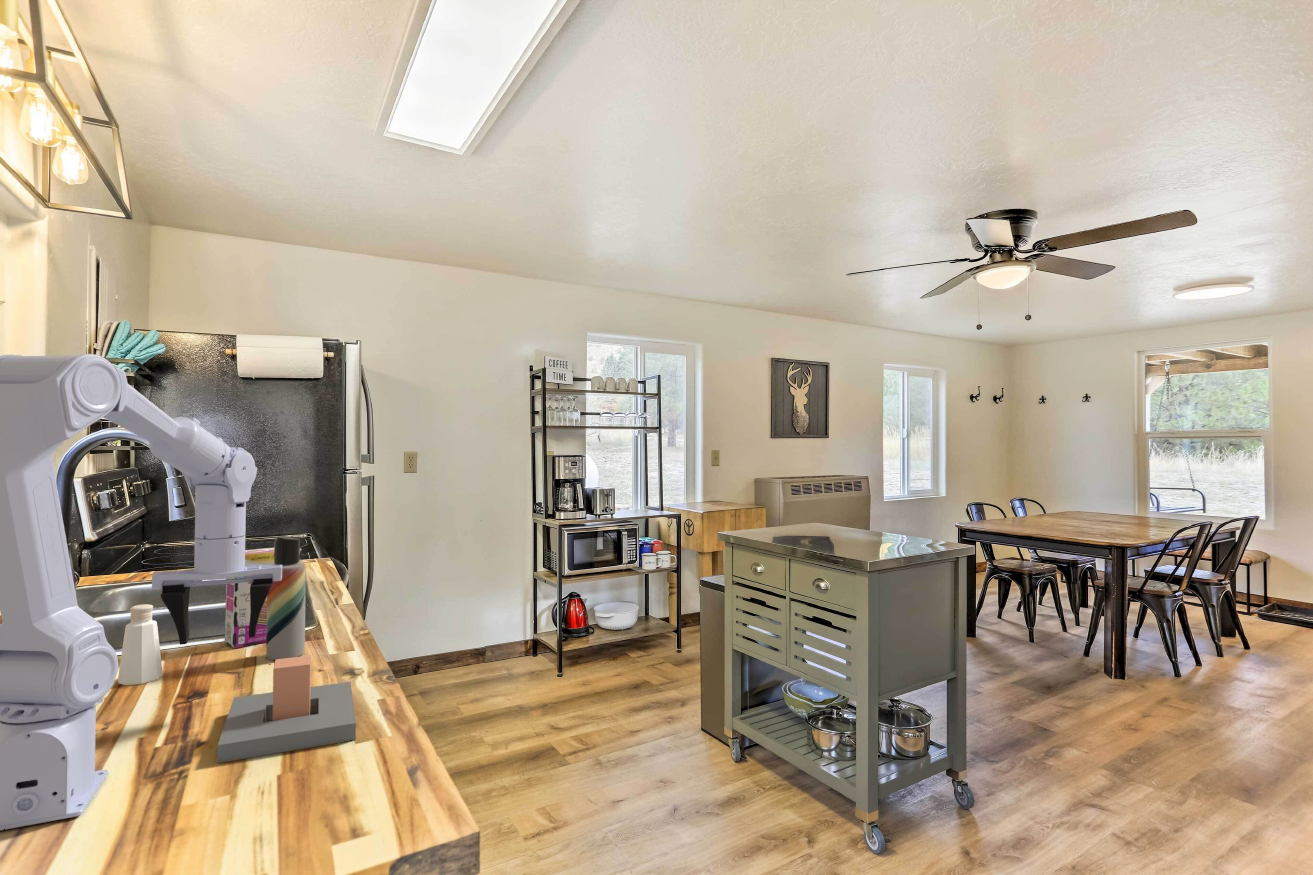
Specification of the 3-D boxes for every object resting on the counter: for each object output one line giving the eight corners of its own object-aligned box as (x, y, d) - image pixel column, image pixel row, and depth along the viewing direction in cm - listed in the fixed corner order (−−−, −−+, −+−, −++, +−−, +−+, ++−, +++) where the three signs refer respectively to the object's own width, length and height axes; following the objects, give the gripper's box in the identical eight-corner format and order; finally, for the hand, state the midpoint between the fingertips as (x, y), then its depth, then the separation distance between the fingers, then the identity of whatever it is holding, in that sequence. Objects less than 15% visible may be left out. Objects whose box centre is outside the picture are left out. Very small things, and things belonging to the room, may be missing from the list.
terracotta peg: (309, 728, 85) (310, 664, 85) (272, 734, 83) (273, 668, 83) (310, 717, 88) (310, 655, 88) (274, 722, 87) (275, 659, 87)
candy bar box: (234, 649, 117) (235, 554, 118) (223, 644, 121) (224, 551, 121) (301, 636, 126) (302, 547, 126) (289, 631, 129) (291, 544, 129)
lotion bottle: (267, 652, 116) (269, 534, 116) (305, 648, 118) (306, 533, 118) (264, 662, 111) (266, 539, 111) (303, 658, 113) (305, 537, 113)
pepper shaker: (171, 674, 105) (172, 602, 105) (141, 686, 99) (143, 610, 100) (139, 672, 105) (140, 601, 105) (107, 684, 100) (109, 609, 100)
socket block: (355, 739, 82) (355, 722, 82) (217, 763, 75) (217, 744, 75) (350, 695, 96) (350, 681, 96) (233, 712, 90) (234, 697, 90)
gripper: (283, 530, 98) (282, 625, 98) (160, 535, 91) (159, 637, 91) (281, 536, 91) (279, 637, 91) (148, 542, 85) (147, 651, 85)
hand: (219, 638), depth 91 cm, fingers open, 7 cm apart
